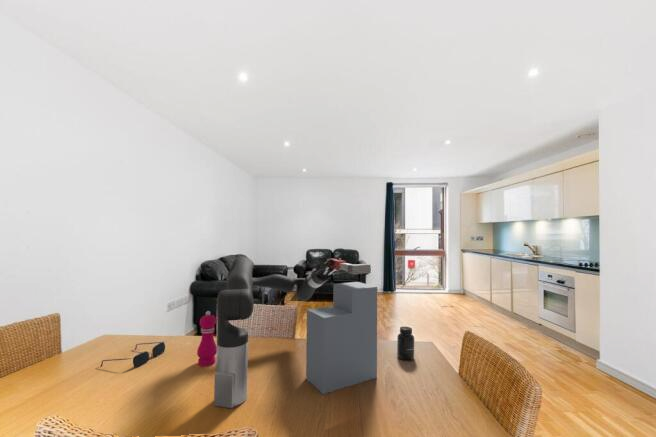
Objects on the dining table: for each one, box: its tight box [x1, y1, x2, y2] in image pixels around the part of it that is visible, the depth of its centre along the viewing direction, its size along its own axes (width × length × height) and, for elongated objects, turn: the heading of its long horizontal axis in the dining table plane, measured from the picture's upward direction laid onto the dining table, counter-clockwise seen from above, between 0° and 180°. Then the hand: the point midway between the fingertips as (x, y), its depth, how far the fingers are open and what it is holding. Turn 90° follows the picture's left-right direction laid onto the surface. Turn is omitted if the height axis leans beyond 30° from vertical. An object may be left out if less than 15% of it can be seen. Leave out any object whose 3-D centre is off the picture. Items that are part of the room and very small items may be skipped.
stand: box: [305, 281, 378, 395], centre depth 108 cm, size 12×22×32 cm, turn 121°
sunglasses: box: [100, 341, 166, 368], centre depth 122 cm, size 17×15×5 cm
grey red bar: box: [326, 258, 371, 275], centre depth 118 cm, size 22×8×3 cm, turn 31°
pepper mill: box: [196, 310, 217, 367], centre depth 119 cm, size 7×7×20 cm
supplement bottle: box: [396, 326, 415, 361], centre depth 126 cm, size 7×7×12 cm
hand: (336, 260), depth 123 cm, fingers closed on grey red bar, 3 cm apart
